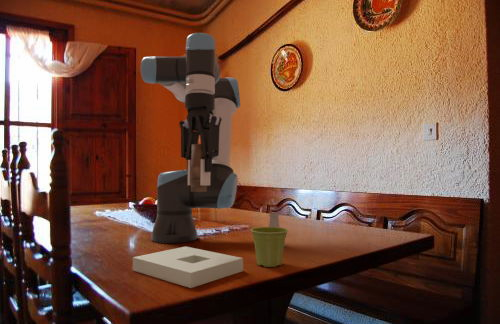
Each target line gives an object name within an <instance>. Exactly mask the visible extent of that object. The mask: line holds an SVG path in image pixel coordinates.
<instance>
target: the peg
mask: <svg viewBox="0 0 500 324" xmlns="http://www.w3.org/2000/svg"><path fill="white" fill-rule="evenodd" d="M202 156H203V152H202V145H201V143H198V144H192V145H191V192H207V185H200V174H201V159H202V158H201V157H202Z"/></svg>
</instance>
